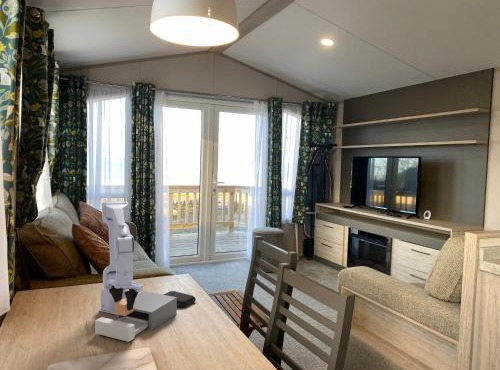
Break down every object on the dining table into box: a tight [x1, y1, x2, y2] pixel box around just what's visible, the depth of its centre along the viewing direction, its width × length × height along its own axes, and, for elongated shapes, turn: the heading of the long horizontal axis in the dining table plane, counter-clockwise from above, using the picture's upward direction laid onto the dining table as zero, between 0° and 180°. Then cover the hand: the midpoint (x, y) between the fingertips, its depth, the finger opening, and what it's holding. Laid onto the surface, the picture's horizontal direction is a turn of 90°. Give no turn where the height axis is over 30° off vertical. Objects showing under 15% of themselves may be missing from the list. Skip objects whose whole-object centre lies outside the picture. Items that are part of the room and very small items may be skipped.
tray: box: [94, 316, 149, 342], centre depth 134 cm, size 14×14×5 cm
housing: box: [115, 290, 178, 331], centre depth 145 cm, size 16×16×7 cm
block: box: [114, 298, 133, 316], centre depth 134 cm, size 4×4×4 cm
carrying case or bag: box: [162, 290, 197, 308], centre depth 162 cm, size 11×3×15 cm
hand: (124, 308), depth 134 cm, fingers closed on block, 4 cm apart
